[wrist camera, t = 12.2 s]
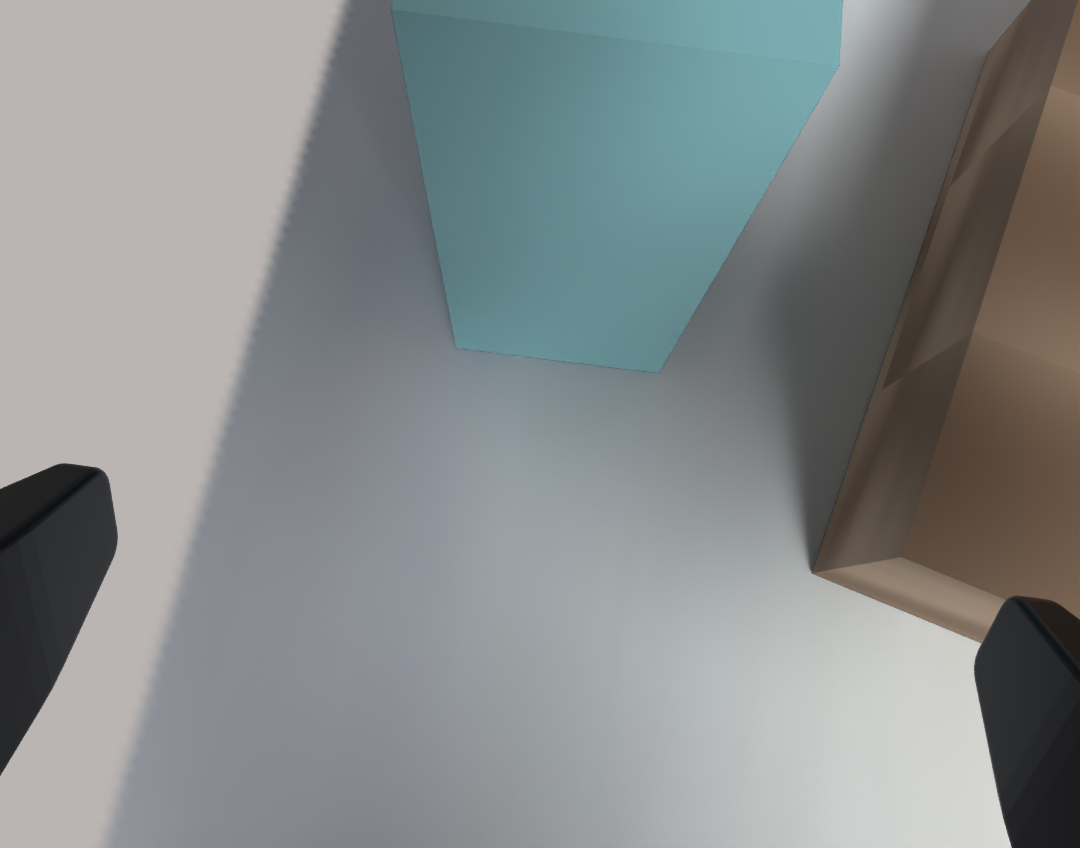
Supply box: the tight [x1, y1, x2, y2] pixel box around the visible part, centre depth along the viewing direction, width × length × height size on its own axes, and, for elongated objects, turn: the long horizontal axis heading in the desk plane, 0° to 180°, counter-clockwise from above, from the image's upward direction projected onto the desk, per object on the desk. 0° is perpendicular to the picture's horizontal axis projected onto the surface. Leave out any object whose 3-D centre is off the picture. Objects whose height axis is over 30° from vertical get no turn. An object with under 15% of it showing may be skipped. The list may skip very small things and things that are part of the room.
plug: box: [391, 0, 843, 373], centre depth 13 cm, size 4×4×10 cm
